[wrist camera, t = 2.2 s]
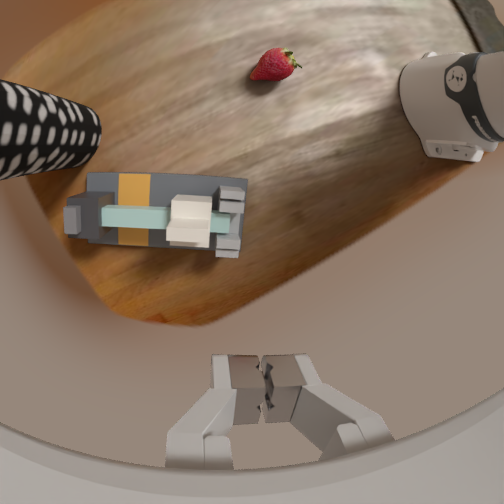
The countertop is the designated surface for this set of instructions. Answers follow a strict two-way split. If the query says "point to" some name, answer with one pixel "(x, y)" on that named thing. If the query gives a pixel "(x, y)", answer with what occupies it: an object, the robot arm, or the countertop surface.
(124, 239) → the board
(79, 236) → the block
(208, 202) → the sleeve
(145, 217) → the pale teal rod
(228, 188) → the gray notched block
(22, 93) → the white-spotted black cylinder
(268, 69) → the fruit
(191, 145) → the countertop surface
